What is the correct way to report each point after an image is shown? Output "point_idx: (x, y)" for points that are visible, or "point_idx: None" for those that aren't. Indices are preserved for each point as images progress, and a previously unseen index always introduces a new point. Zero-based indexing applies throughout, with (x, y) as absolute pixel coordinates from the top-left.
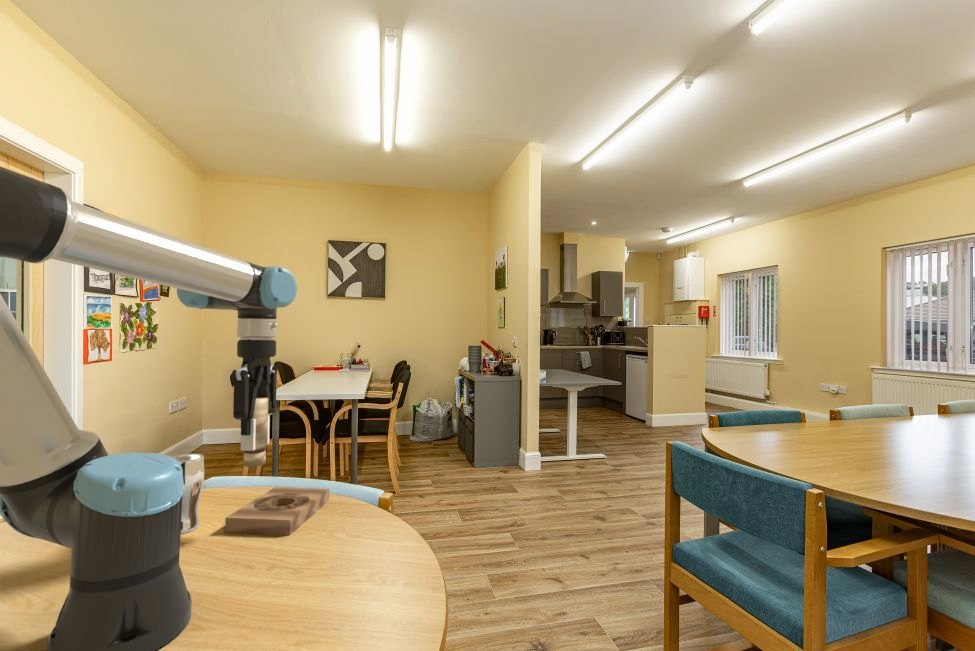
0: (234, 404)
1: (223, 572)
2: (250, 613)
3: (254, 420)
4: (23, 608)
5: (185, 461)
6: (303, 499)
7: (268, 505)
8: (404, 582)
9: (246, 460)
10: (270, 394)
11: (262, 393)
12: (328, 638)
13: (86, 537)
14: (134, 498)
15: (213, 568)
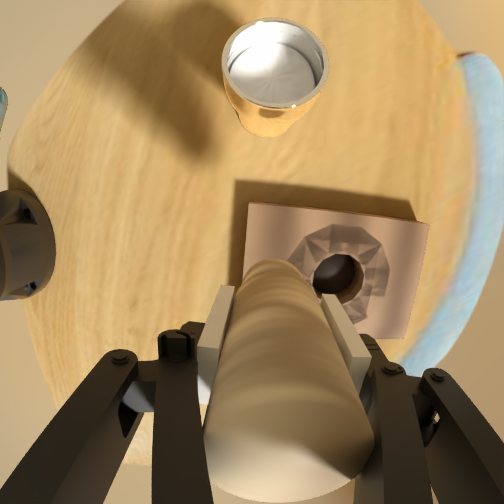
0: (74, 399)
1: (115, 276)
2: (59, 340)
3: (206, 399)
4: (46, 98)
5: (229, 84)
6: (349, 316)
7: (318, 260)
8: (136, 448)
9: (242, 283)
10: (434, 464)
11: (365, 487)
12: (56, 401)
13: None
14: None
15: (123, 256)
